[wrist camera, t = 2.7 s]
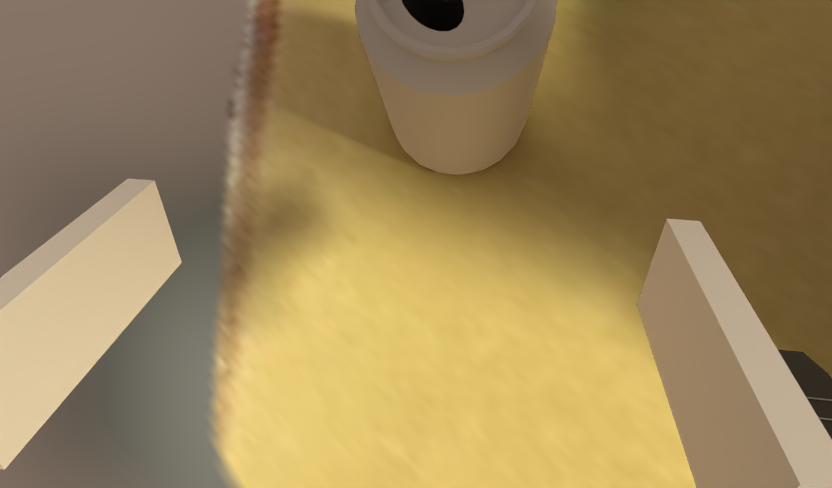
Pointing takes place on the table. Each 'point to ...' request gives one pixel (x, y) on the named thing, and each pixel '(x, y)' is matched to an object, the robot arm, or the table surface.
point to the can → (456, 74)
